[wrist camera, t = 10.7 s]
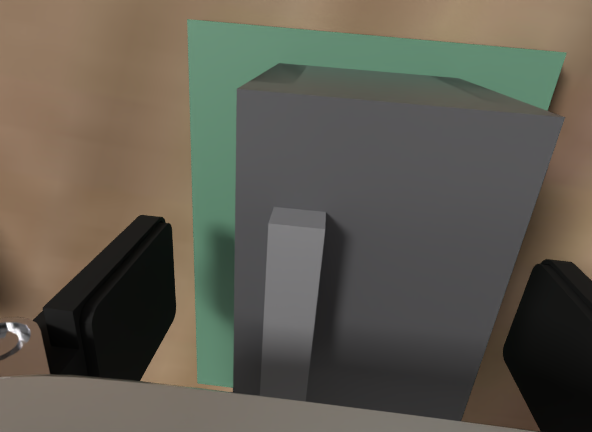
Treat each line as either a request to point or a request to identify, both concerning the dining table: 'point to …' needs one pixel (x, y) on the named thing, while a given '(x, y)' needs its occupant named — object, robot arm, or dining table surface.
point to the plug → (377, 233)
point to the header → (222, 131)
